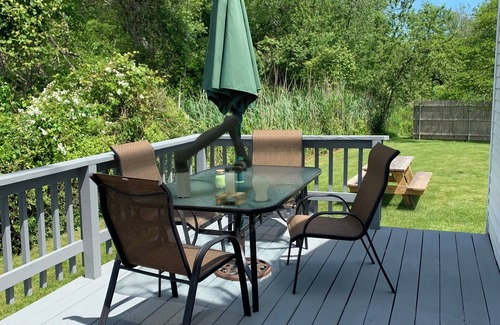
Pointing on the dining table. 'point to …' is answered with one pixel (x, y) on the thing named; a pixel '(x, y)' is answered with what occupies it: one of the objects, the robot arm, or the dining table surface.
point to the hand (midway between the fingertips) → (233, 170)
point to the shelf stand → (238, 196)
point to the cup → (261, 187)
